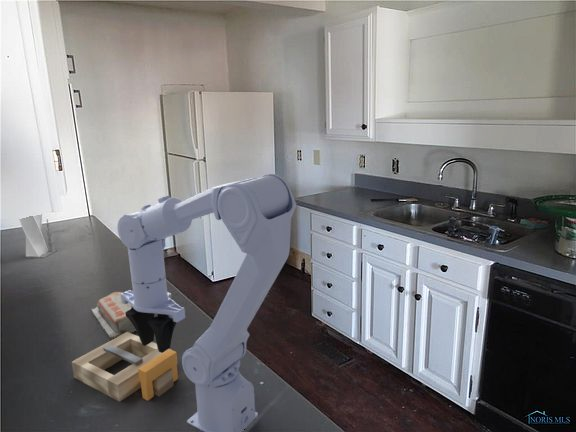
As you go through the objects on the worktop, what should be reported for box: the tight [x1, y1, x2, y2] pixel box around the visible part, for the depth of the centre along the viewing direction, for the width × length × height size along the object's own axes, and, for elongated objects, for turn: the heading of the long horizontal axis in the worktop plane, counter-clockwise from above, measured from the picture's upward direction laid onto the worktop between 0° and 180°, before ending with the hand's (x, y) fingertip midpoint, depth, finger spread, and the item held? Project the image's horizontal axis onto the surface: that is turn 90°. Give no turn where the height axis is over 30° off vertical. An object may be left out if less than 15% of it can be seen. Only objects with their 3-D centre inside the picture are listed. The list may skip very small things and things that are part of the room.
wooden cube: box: [152, 369, 174, 397], centre depth 81 cm, size 3×4×4 cm
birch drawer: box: [71, 332, 172, 403], centre depth 86 cm, size 14×13×5 cm
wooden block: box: [138, 348, 179, 402], centre depth 81 cm, size 2×7×6 cm, turn 148°
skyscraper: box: [18, 213, 57, 259], centre depth 153 cm, size 8×8×28 cm
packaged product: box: [91, 291, 137, 340], centre depth 109 cm, size 18×5×10 cm
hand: (156, 346), depth 79 cm, fingers open, 4 cm apart
